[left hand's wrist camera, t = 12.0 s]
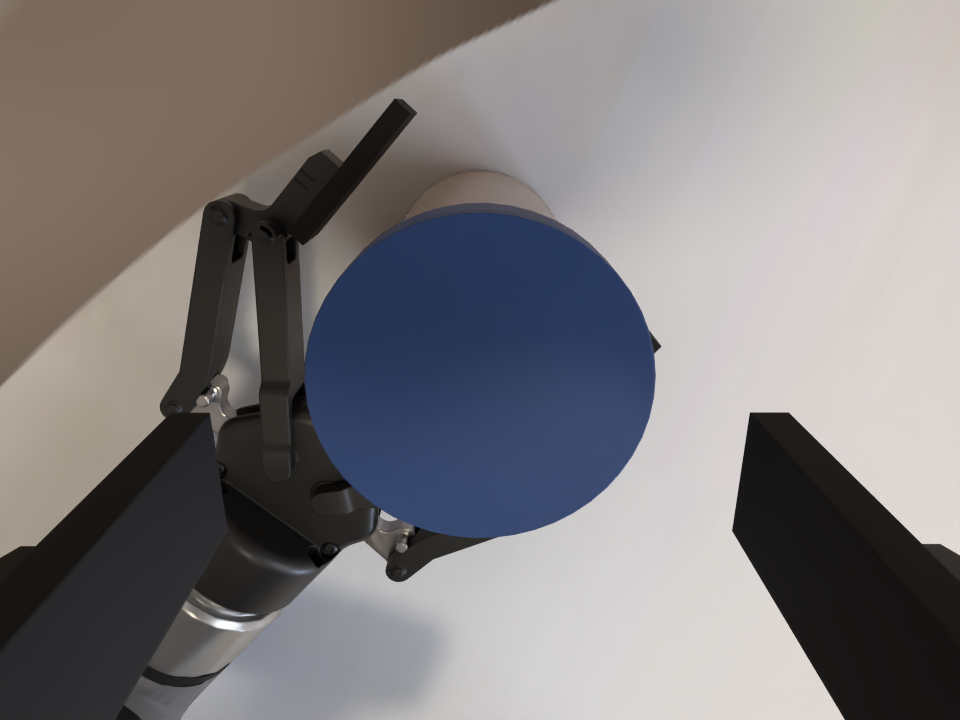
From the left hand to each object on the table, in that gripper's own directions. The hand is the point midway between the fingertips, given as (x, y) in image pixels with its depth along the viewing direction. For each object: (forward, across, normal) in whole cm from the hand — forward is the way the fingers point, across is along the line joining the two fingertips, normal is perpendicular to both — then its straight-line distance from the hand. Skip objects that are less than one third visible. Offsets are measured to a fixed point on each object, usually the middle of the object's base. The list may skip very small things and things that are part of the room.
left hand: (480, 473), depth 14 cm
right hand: (+16, -2, -2) cm, 16 cm away
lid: (+5, 0, 0) cm, 5 cm away
